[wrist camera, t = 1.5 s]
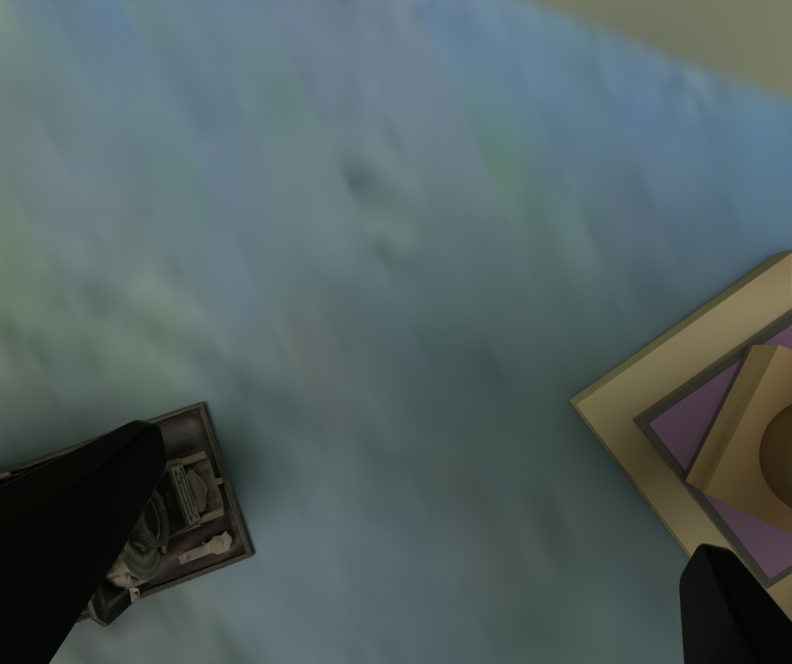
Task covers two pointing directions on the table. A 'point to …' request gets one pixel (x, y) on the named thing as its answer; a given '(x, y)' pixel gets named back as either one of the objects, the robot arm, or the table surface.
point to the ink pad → (680, 436)
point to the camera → (170, 518)
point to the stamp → (751, 440)
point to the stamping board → (663, 373)
